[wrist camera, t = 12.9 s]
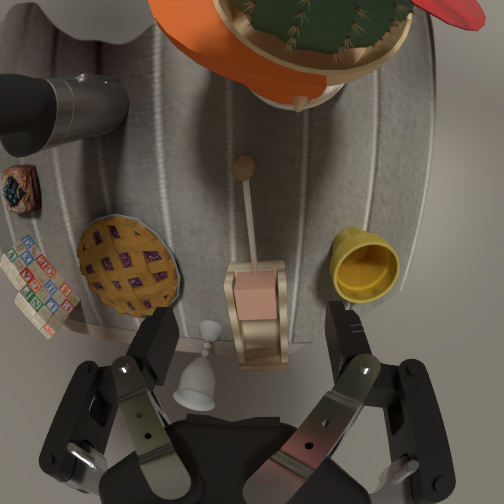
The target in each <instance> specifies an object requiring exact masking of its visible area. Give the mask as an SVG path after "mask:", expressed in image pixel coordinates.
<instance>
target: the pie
mask: <svg viewBox="0 0 504 504" xmlns="http://www.w3.org/2000/svg"><path fill="white" fill-rule="evenodd" d="M77 257H78V258H79V261H80V271H81V274H82V275H84V276H85V277H86V279H87V281H88V286H89V287H90V289H91V290H92V291H95V292H96V293H97V294H98V295H99V296H100V300H101V301H102V302H103V303H104V304H105V305H111V306H112V307H114V308H115V309H116V311H117V312H119V313H120V314H122V315H123V314H125V313H129V314H132V315H133V317H138V318H140V317H141V316H142V315H150V316H152V314H153V312H154V311H155V309H156V307H170V306H171V305H172V303H173V302H174V301H175V300H176V298H177V297H178V296H179V288H180V278H181V277H180V274H179V271H178V268H177V265H176V262H175V259H174V255H173V254H172V252H171V251H170V249H169V247H168V246H167V245H166V243H165V242H164V240H163V239H162V238H161V236H160V235H159V233H158V232H157V231H156V230H155V229H153V228H152V227H151V226H149V225H148V224H147V223H146V222H144V221H143V220H140V219H138V218H134V217H129V216H125V215H120V214H112V215H108V216H103V217H99V218H97V219H95V220H94V221H93V222H92V223H91V224H89V225H88V226H87V227H86V228H85V229H84V230H83V233H82V235H81V238H80V241H79V243H78V248H77Z"/></svg>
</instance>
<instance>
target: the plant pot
mask: <svg viewBox="0 0 504 504" xmlns="http://www.w3.org/2000/svg"><path fill="white" fill-rule="evenodd" d="M399 269H400V263H399V258H398V255H397V253H396V252H395V250H394V249H393V248H392V247H391V246H390V244H389V243H388V242H387V241H386V240H385V239H383V238H382V237H380V236H378V235H376V234H372V233H367V232H365V231H363V230H362V229H360V228H356V227H351V228H347V229H344V230H343V231H341V232H340V233H339V234H338V235H337V236H336V238H335V239H334V242H333V255H332V258H331V261H330V275H331V279H332V282H333V285H334V287H335V289H336V291H337V293H338V294H339V295H340V296H341V297H342V298H344V299H345V300H347V301H350V302H353V303H366V302H371V301H374V300H376V299H378V298H380V297H382V296H383V295H384V294H386V293H387V292H388V291H389V290H390V289H391V288H392V286H393V285H394V283H395V282H396V280H397V277H398V274H399Z"/></svg>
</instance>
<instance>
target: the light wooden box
mask: <svg viewBox="0 0 504 504" xmlns="http://www.w3.org/2000/svg"><path fill="white" fill-rule="evenodd" d="M257 266H258V271H267V270H274V271H275V288H276V314H277V319H262V320H239V318H238V312H237V306H236V300H235V294H234V287H235V282H236V276H237V272H247V271H252V264H251V261H243V262H229V266H228V270H227V274H226V278H225V282H224V290H225V295H226V301H227V306H228V311H229V316H230V321H231V326H232V331H233V336H234V341H235V346H236V351H237V356H238V360H239V370H240V371H257V370H258V371H261V370H287V369H288V342H287V292H286V275H285V264H284V259H279V260H261V261H257Z"/></svg>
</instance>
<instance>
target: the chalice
mask: <svg viewBox="0 0 504 504" xmlns="http://www.w3.org/2000/svg"><path fill="white" fill-rule="evenodd" d="M199 330H200V333H201V336H202V338H203V339H204V340H206V341H205V343H203V344H202V346H203V347H204V349H203V350H202V351H201V353H202V357H200V358H197V359H195V360H194V361H193V362H192V363H191V364H190V365H189V366H188V367H187V368H186V369H185V370H184V372H183V373H182V377H181V381H180V384H179V387H178V390H177V391H175V392H174V394H173V397H174V399H175V400H176V401H177V402H178V403H180V404H181V405H183V406H185V407H187V408H190V409H193V410H199V411H207V410H211V409H213V408H214V406H215V404H214V401H213V395H214V390H215V384H216V381H215V377H214V372H213V369H212V367H211V364H210V362H209V361H208V360H207V359H206V357H207V356H208V355H209V352H208V349H209V348H211V345H210V341H214V340H216V339H217V338H218V337H219V336H220V335H221V334H222V332H223V329H222V327H221V326H220V325H219V324H218V323H217V322H214V321H210V320H207V321H203V322H201V323H200V325H199Z"/></svg>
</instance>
